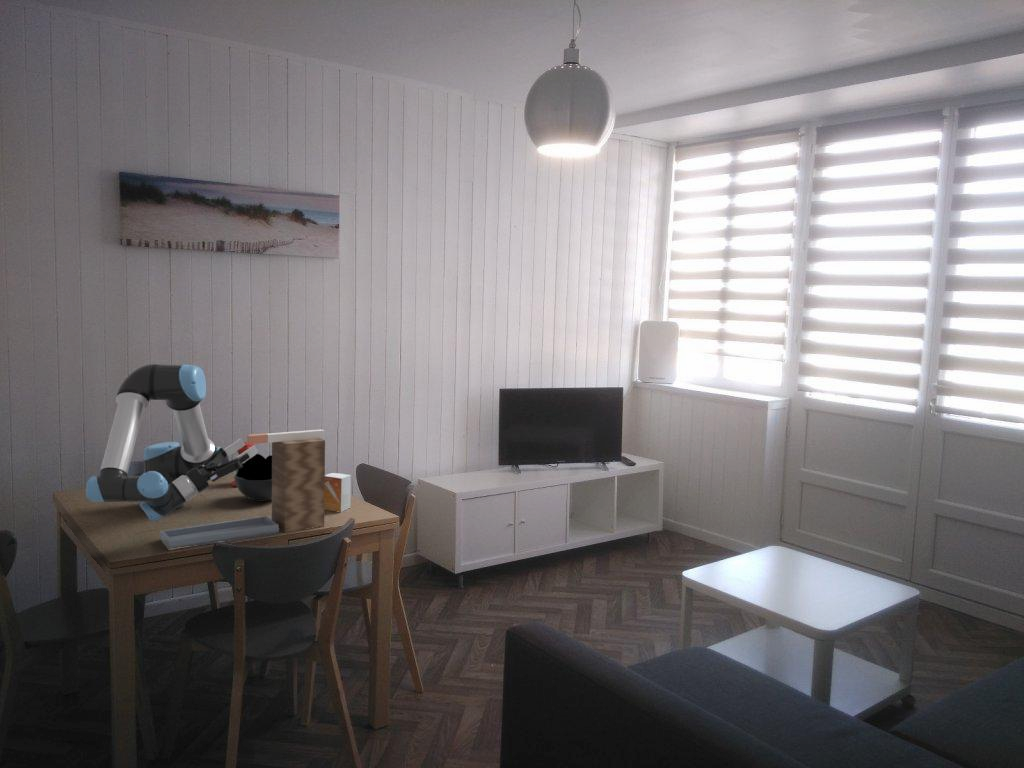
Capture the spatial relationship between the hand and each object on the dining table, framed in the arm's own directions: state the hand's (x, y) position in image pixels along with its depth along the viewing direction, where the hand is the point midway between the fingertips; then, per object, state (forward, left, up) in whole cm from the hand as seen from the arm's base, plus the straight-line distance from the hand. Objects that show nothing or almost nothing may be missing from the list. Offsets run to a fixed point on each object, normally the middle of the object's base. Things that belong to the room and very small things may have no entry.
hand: (249, 444), depth 250 cm
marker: (+12, +4, 0) cm, 13 cm away
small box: (+32, +21, -30) cm, 49 cm away
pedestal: (+16, +5, -30) cm, 34 cm away
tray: (-9, -2, -30) cm, 31 cm away
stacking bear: (+3, +68, -30) cm, 74 cm away
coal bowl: (+7, +41, -30) cm, 51 cm away
